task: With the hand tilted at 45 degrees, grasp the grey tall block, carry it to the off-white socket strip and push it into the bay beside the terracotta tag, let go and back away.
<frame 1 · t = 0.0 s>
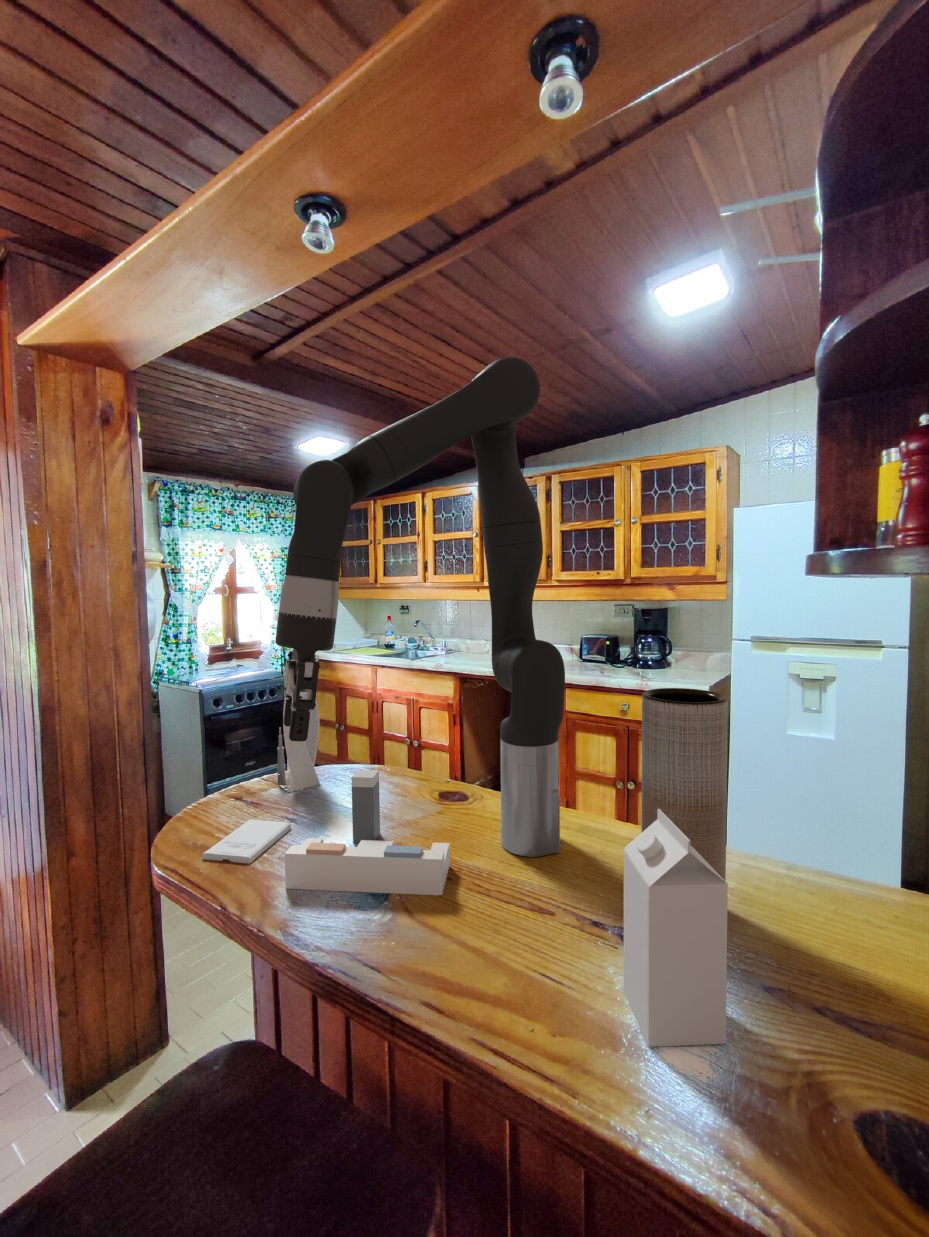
hand: (294, 732, 74), 22 cm above the counter, tool pointing down, fingers open, 8 cm apart
grey tall block: (366, 838, 92), on the counter
external hard drive: (249, 847, 91), on the counter
socket strip: (370, 876, 80), on the counter
vase: (682, 912, 70), on the counter
skyscraper: (302, 786, 118), on the counter
milk carton: (671, 1019, 53), on the counter
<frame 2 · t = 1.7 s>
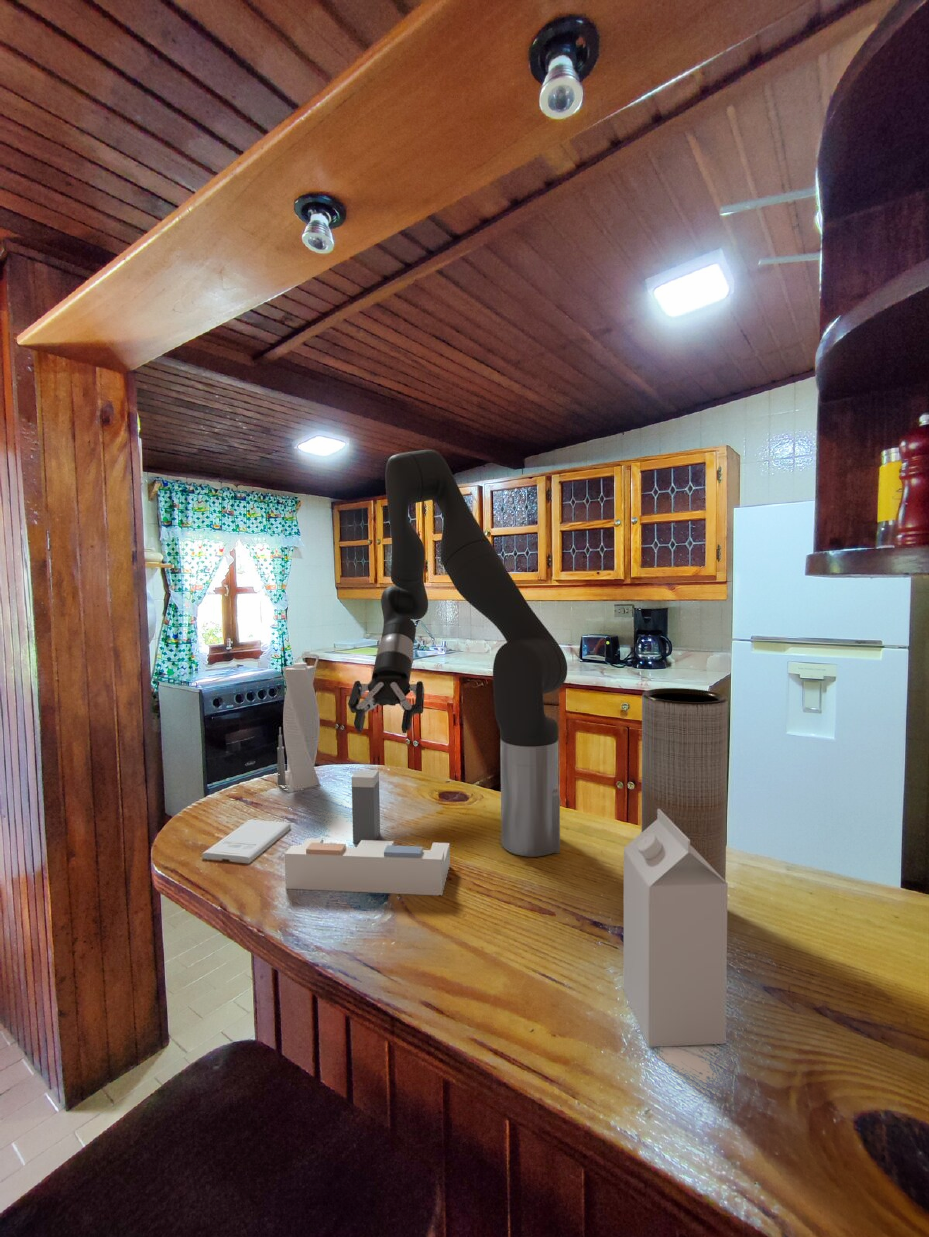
hand: (381, 730, 102), 15 cm above the counter, tool tilted 45°, fingers open, 8 cm apart
nothing on the counter moved.
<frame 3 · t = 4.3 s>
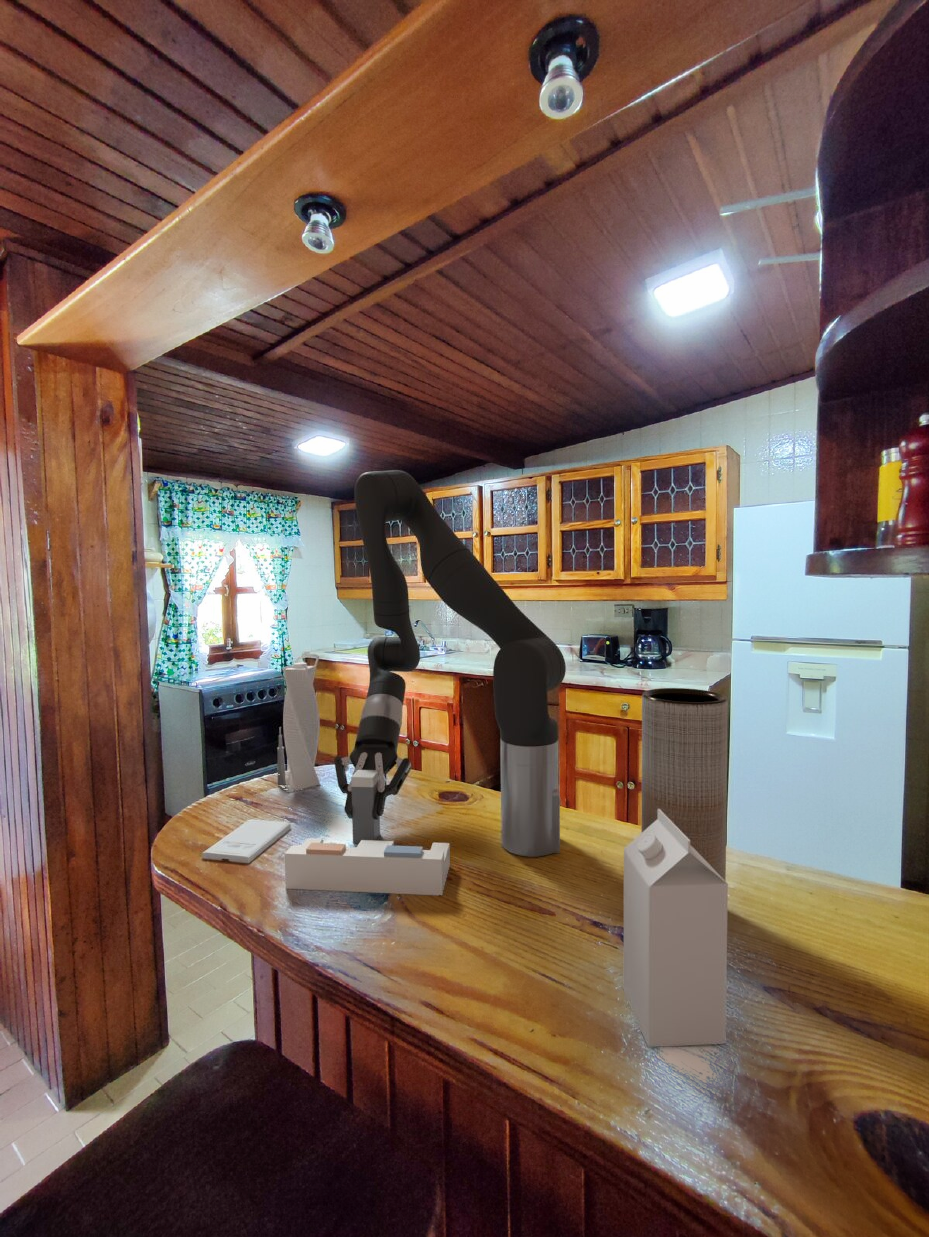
hand: (362, 816, 90), 5 cm above the counter, tool tilted 45°, fingers closed on grey tall block, 3 cm apart
grey tall block: (366, 838, 92), on the counter, touching gripper
everything else where it was.
when the fingers open (5 cm above the counter, at t = 9.3 s): grey tall block stays where it is, resting in socket strip.
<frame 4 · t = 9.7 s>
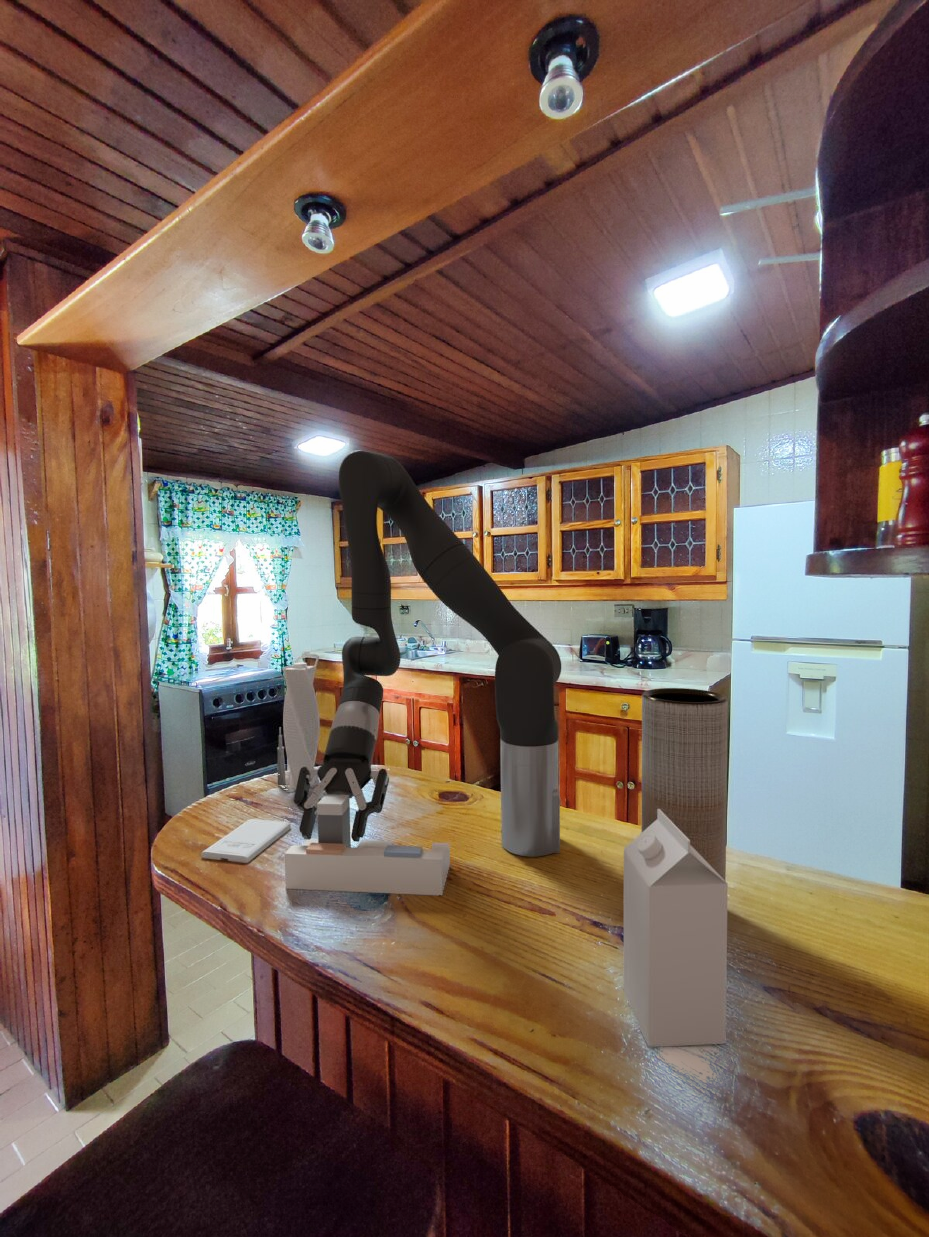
hand: (330, 838, 79), 6 cm above the counter, tool tilted 45°, fingers open, 6 cm apart
grey tall block: (335, 872, 81), resting in socket strip
everything else where it was.
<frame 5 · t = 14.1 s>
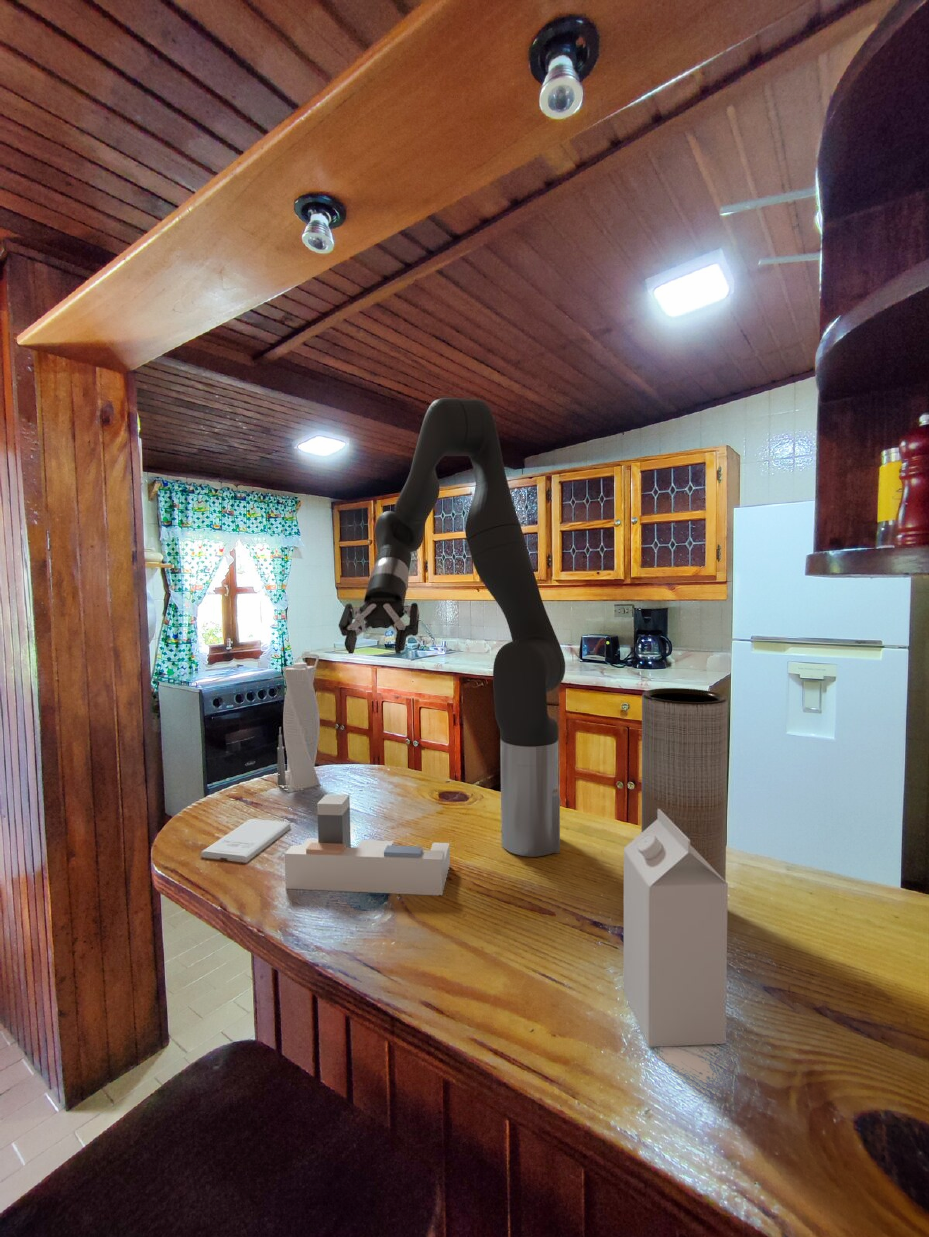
hand: (373, 650, 97), 31 cm above the counter, tool tilted 45°, fingers open, 8 cm apart
nothing on the counter moved.
at the end: grey tall block 0.7 cm from the target spot on the socket strip, point 0.0 cm above the socket strip's base; grey tall block tilted 0°; the gripper is holding nothing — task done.
